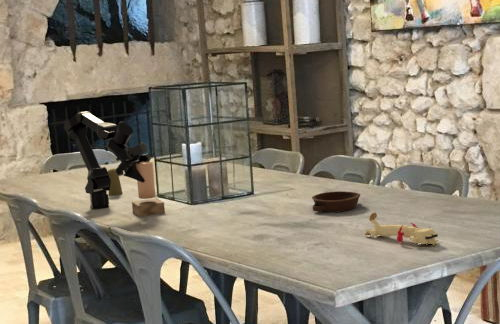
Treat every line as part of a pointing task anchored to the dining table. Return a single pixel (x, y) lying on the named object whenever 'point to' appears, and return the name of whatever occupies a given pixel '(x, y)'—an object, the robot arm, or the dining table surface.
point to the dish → (335, 201)
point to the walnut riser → (148, 207)
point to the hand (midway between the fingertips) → (148, 180)
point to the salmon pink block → (146, 180)
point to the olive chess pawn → (114, 183)
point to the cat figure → (402, 232)
